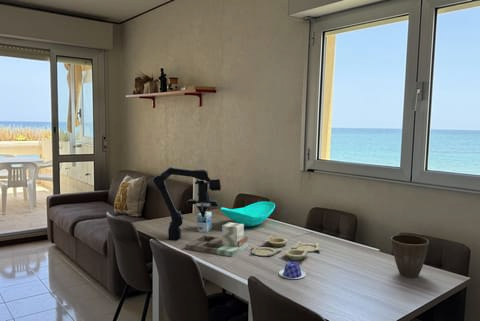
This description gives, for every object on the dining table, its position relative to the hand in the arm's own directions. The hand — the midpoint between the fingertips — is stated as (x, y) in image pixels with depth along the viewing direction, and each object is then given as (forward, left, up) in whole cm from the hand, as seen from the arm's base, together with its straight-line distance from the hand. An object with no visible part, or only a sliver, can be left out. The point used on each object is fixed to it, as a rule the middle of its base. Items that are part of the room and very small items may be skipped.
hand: (203, 217), depth 224 cm
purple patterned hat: (+55, -48, -13) cm, 74 cm away
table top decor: (+21, +31, -12) cm, 40 cm away
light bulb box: (-4, +16, -12) cm, 21 cm away
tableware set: (+50, -16, -13) cm, 54 cm away
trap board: (+13, -18, -12) cm, 25 cm away
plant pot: (+105, -40, -12) cm, 113 cm away
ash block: (+21, -16, -10) cm, 28 cm away
